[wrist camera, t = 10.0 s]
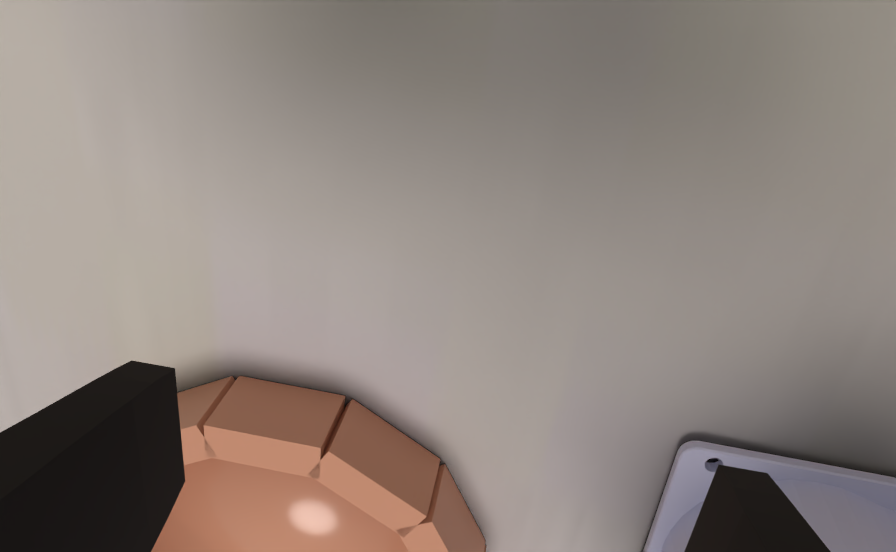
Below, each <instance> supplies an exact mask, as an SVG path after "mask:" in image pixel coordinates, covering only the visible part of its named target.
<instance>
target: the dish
mask: <svg viewBox="0 0 896 552" xmlns="http://www.w3.org/2000/svg"><path fill="white" fill-rule="evenodd" d="M177 397H178V408H179V419H180V429H181V440H182V450H183V461H184V472H185V483H184V485H183V487H182V489H181V491H180V493H179V496H178V498H177V500H176V502H175V504H174V506H173V508H172V511H171V513H170V515H169V517H168V519H167V521H166V523H165V525H164V527H163V529H162V531H161V533H160V535H159V537H158V539H157V541H156V543H155V545H154V547H153V549H152V551H151V552H486V546H485V539H484V537H483V535H482V533H481V531H480V529H479V528H478V526H477V524H476V522H475V520H474V518H473V516H472V514H471V512H470V510H469V509H468V507H467V505H466V503H465V501H464V499H463V497H462V495H461V493H460V491H459V490H458V488H457V486H456V484H455V482H454V480H453V478H452V476H451V474H450V472H449V471H448V469H447V467H446V465H445V464H444V465H439V463H440V458H438V457H437V456H435V455H434V454H432V453H431V452H429V451H428V450H426V449H425V448H424V447H422V446H421V445H419V444H418V443H416V442H415V441H413V440H412V439H410V438H409V437H407V436H406V435H405V434H403V433H402V432H400V431H399V430H397V429H396V428H394V427H393V426H391V425H390V424H389V423H387V422H386V421H384V420H383V419H381V418H380V417H378V416H377V415H375V414H374V413H372V412H371V411H370V410H368V409H367V408H365V407H364V406H362V405H361V404H359V403H358V402H356V401H355V400H353V399H352V400H351V401H350V402H349V403H348V404H347V405H346V407H345V396H344V395H338V394H333V393H328V392H323V391H317V390H312V389H307V388H301V387H296V386H291V385H286V384H280V383H275V382H270V381H264V380H259V379H254V378H249V377H243V376H239V377H238V378H237V379H236V381H235V380H234V378H233V376H231V377H227V378H224V379H221V380H217V381H214V382H211V383H208V384H204V385H201V386H198V387H195V388H191V389H188V390H185V391H182V392H178V393H177Z"/></svg>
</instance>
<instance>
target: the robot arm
mask: <svg viewBox="0 0 896 552" xmlns="http://www.w3.org/2000/svg"><path fill="white" fill-rule="evenodd" d="M711 458H718V459H719V460H718V461H717V462H714V463H708V462H706V461H707V460H708V459H711ZM184 483H185V472H184V461H183V450H182V440H181V429H180V419H179V408H178V397H177V387H176V376H175V368H170V367H164V366H159V365H153V364H147V363H142V362H136V361H130V362H128V363H126V364H124V365H122V366H120V367H118V368H116V369H114V370H112V371H110V372H109V373H107V374H105V375H103V376H101V377H99V378H98V379H96V380H94V381H92V382H90V383H89V384H87V385H85V386H83V387H81V388H80V389H78V390H76V391H74V392H72V393H71V394H69V395H67V396H65V397H64V398H62V399H60V400H58V401H56V402H55V403H53V404H51V405H49V406H48V407H46V408H44V409H42V410H41V411H39V412H37V413H35V414H33V415H31V416H30V417H28V418H26V419H24V420H22V421H21V422H19V423H17V424H15V425H13V426H12V427H10V428H8V429H6V430H4V431H2V432H1V433H0V552H151V551H152V549H153V547H154V545H155V543H156V541H157V539H158V537H159V535H160V533H161V531H162V529H163V527H164V525H165V523H166V521H167V519H168V517H169V515H170V513H171V511H172V508H173V506H174V504H175V502H176V500H177V498H178V496H179V493H180V491H181V489H182V487H183V485H184ZM643 552H896V478H895V477H890V476H885V475H879V474H874V473H869V472H863V471H858V470H852V469H847V468H842V467H836V466H831V465H826V464H820V463H815V462H810V461H804V460H799V459H794V458H788V457H783V456H778V455H772V454H767V453H762V452H756V451H751V450H745V449H740V448H735V447H729V446H724V445H719V444H713V443H708V442H703V441H689V442H686V443H684V444H683V445H681V446H680V448H679V450H678V451H677V454H676V457H675V460H674V463H673V466H672V469H671V472H670V475H669V478H668V480H667V483H666V486H665V489H664V492H663V495H662V498H661V501H660V504H659V507H658V510H657V512H656V515H655V518H654V521H653V524H652V527H651V530H650V533H649V536H648V539H647V541H646V544H645V547H644V550H643Z"/></svg>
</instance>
